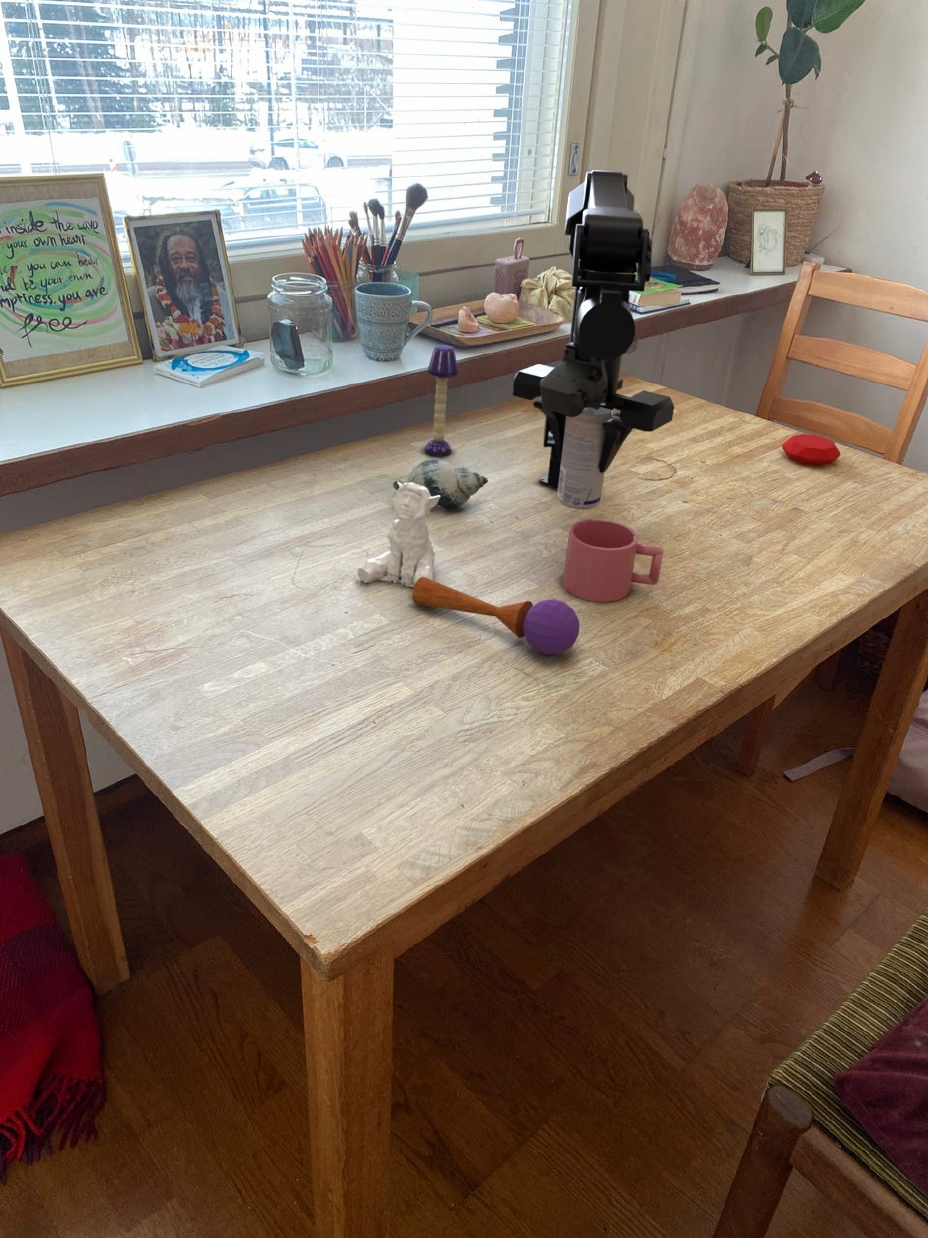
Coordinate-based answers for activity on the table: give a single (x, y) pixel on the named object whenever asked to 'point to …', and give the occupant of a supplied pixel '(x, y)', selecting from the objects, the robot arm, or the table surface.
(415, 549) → the seated beast figurine
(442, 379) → the toy lamp
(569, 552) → the mug
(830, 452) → the gemstone
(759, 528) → the table surface
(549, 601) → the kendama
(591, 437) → the energy drink
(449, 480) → the seashell
